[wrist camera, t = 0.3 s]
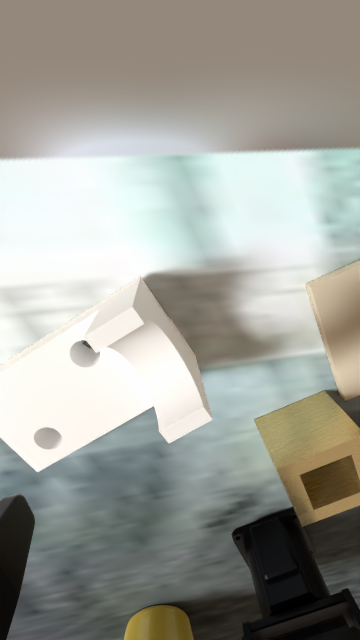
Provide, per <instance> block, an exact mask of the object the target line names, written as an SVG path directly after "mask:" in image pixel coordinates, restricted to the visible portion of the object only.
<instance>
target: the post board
mask: <svg viewBox="0 0 360 640" xmlns="http://www.w3.org/2000/svg"><path fill="white" fill-rule="evenodd" d="M306 288H307V291H308V294H309V297H310V301H311V304H312V307H313V310H314V314H315V317H316V320H317V323H318V327H319V330H320V333H321V336H322V340H323V343H324V346H325V349H326V353H327V356H328V359H329V362H330V366H331V369H332V372H333V376H334V379H335V382H336V385H337V389H338V392H339V395H340V396H341V397H342V398H343V399H344V400H345V401H348V400H350V399H352V398H355V397H357V396H360V260H358V261H356V262H353V263H351V264H349V265H347V266H344V267H342V268H340V269H338V270H335V271H333V272H331V273H329V274H326V275H324V276H322V277H320V278H317V279H315V280H313V281H311V282H308V283H306Z"/></svg>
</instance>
